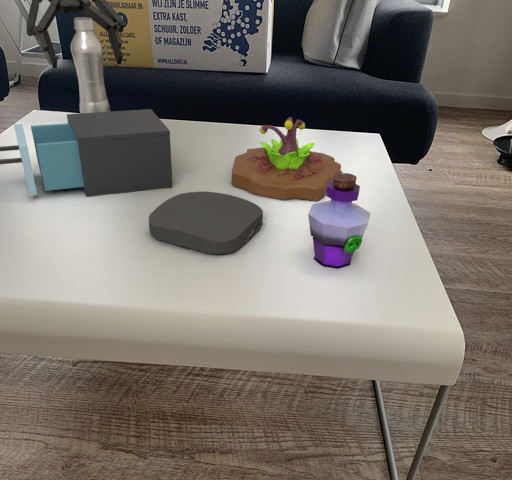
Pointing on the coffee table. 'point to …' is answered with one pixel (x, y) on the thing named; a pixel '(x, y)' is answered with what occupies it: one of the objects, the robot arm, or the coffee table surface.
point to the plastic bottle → (89, 67)
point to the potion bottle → (338, 223)
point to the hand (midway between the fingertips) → (88, 62)
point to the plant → (285, 168)
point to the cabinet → (122, 151)
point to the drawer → (49, 157)
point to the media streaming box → (206, 221)
